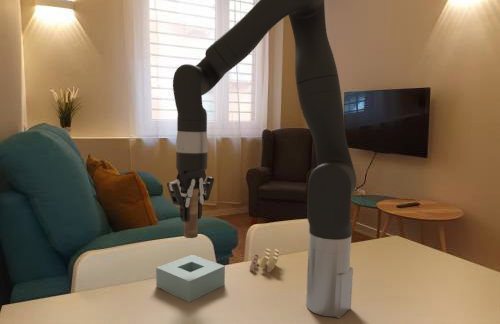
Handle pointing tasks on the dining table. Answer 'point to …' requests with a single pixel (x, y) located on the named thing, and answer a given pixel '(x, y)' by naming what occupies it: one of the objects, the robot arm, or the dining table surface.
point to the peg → (192, 216)
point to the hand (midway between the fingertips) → (191, 219)
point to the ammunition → (266, 259)
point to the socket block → (190, 277)
